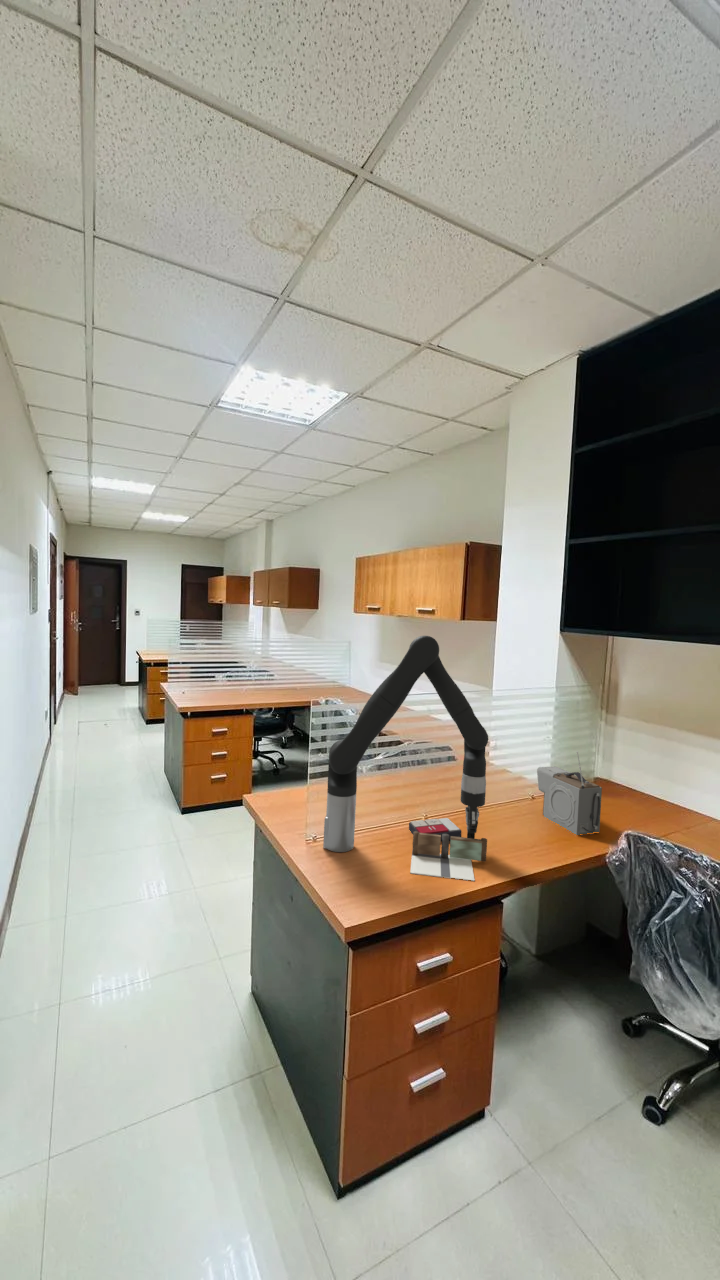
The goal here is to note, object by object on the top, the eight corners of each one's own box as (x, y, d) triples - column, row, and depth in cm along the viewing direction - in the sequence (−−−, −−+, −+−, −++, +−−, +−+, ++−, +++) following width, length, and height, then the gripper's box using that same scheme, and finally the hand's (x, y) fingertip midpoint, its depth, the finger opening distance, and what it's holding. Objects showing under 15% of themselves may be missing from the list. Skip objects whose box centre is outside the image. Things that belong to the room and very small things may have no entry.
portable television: (555, 810, 195) (560, 736, 194) (602, 834, 172) (607, 751, 172) (531, 812, 191) (535, 737, 190) (575, 837, 168) (580, 752, 168)
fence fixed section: (412, 856, 148) (413, 833, 148) (412, 852, 150) (413, 830, 150) (448, 860, 146) (449, 836, 146) (448, 857, 149) (449, 834, 148)
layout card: (410, 873, 137) (410, 872, 137) (412, 851, 151) (412, 850, 151) (474, 881, 135) (474, 880, 135) (470, 858, 148) (470, 857, 148)
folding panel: (449, 857, 147) (450, 836, 146) (449, 855, 148) (450, 834, 148) (486, 861, 145) (487, 840, 145) (485, 859, 147) (486, 838, 147)
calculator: (408, 820, 168) (448, 815, 172) (408, 832, 168) (448, 827, 172) (420, 833, 157) (462, 828, 161) (420, 846, 158) (461, 841, 161)
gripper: (459, 780, 158) (457, 833, 158) (462, 794, 145) (459, 851, 145) (483, 783, 157) (480, 835, 157) (488, 796, 144) (485, 853, 144)
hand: (470, 842), depth 151 cm, fingers closed
